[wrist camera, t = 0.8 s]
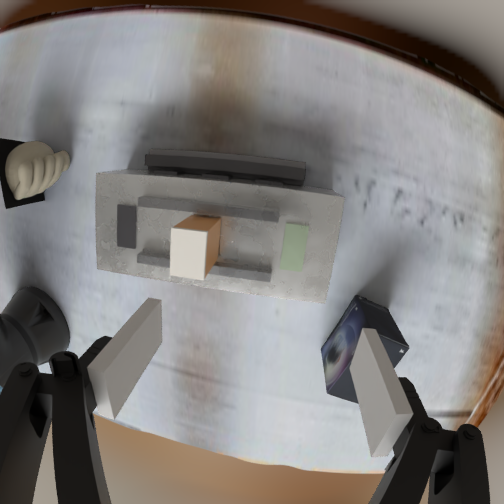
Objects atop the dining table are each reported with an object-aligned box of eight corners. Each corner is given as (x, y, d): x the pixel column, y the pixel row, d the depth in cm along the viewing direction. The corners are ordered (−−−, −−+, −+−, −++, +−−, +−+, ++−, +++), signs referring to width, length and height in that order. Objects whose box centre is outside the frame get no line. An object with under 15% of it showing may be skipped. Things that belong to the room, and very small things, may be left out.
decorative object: (71, 129, 41) (82, 187, 44) (22, 149, 40) (32, 205, 43) (37, 116, 29) (49, 191, 32) (-20, 145, 28) (-9, 215, 30)
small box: (353, 292, 42) (371, 329, 32) (389, 308, 43) (413, 346, 33) (317, 349, 46) (324, 394, 36) (352, 362, 46) (365, 407, 36)
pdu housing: (124, 251, 44) (91, 272, 35) (126, 166, 40) (90, 170, 31) (318, 277, 42) (326, 309, 33) (333, 186, 39) (348, 195, 30)
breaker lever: (189, 254, 34) (169, 275, 28) (191, 214, 33) (171, 228, 27) (217, 258, 34) (203, 280, 28) (221, 218, 33) (206, 232, 26)
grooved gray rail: (152, 170, 40) (144, 171, 38) (153, 149, 39) (146, 148, 37) (302, 185, 39) (303, 186, 36) (304, 162, 38) (306, 162, 36)
